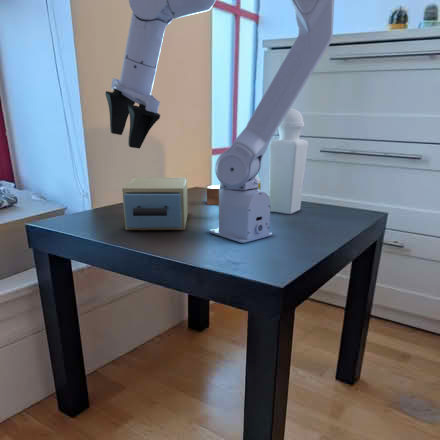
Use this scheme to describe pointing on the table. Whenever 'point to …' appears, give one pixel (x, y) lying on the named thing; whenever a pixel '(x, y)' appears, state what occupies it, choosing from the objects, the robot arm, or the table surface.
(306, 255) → the table surface
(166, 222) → the drawer
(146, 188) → the drawer cabinet
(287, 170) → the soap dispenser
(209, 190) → the block
